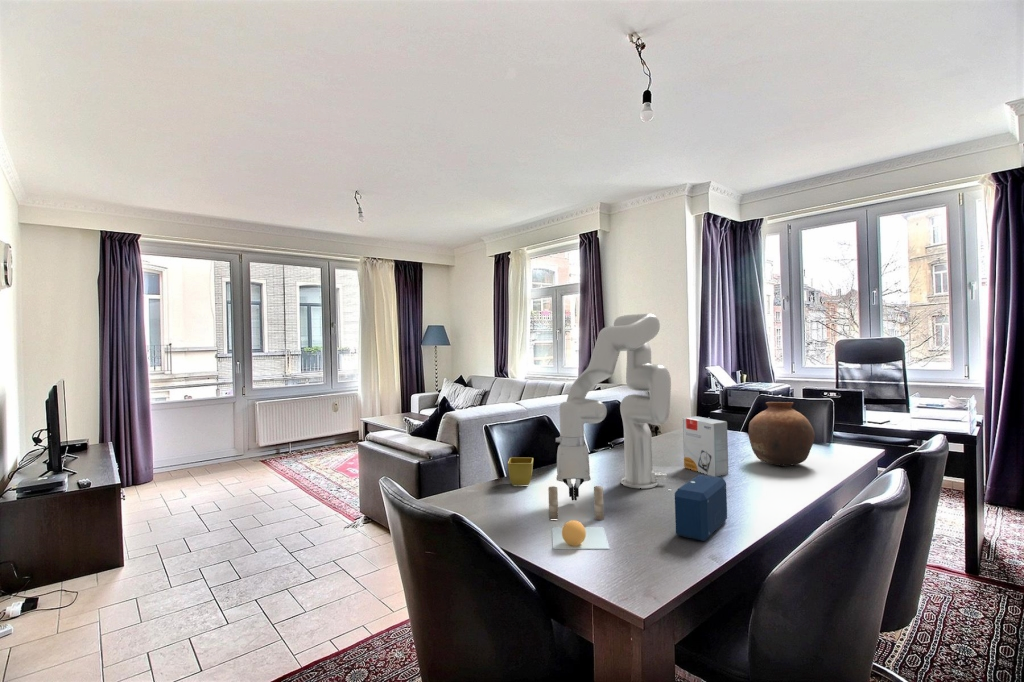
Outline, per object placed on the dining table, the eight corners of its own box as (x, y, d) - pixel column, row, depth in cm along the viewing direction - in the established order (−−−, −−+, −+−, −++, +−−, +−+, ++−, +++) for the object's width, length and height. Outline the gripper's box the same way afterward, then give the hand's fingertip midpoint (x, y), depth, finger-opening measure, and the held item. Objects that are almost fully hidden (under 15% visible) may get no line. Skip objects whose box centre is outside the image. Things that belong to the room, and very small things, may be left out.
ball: (585, 551, 122) (585, 536, 128) (586, 530, 121) (585, 516, 126) (561, 550, 123) (561, 535, 128) (561, 529, 121) (562, 515, 127)
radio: (698, 514, 144) (696, 445, 144) (729, 520, 138) (727, 448, 138) (670, 537, 127) (668, 460, 127) (705, 545, 122) (702, 464, 122)
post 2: (603, 516, 143) (602, 486, 143) (604, 520, 141) (603, 488, 141) (594, 516, 144) (593, 486, 144) (595, 520, 141) (594, 488, 141)
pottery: (781, 474, 181) (779, 406, 181) (736, 460, 203) (734, 400, 203) (830, 468, 187) (827, 402, 187) (781, 455, 209) (779, 396, 209)
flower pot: (534, 481, 182) (533, 457, 182) (532, 488, 173) (532, 463, 173) (510, 481, 183) (509, 457, 183) (508, 488, 174) (507, 463, 174)
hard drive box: (683, 468, 194) (681, 417, 194) (697, 465, 197) (696, 415, 197) (714, 477, 180) (712, 423, 180) (729, 474, 183) (728, 421, 183)
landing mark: (603, 527, 135) (603, 527, 135) (609, 549, 121) (609, 548, 121) (552, 527, 136) (552, 527, 136) (552, 549, 122) (552, 548, 122)
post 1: (558, 517, 144) (557, 486, 144) (558, 520, 142) (557, 489, 142) (549, 517, 145) (548, 486, 145) (549, 520, 142) (548, 489, 142)
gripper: (548, 444, 152) (550, 503, 152) (597, 443, 151) (599, 502, 151) (548, 439, 160) (550, 495, 160) (595, 438, 159) (596, 495, 159)
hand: (574, 499), depth 156 cm, fingers closed
